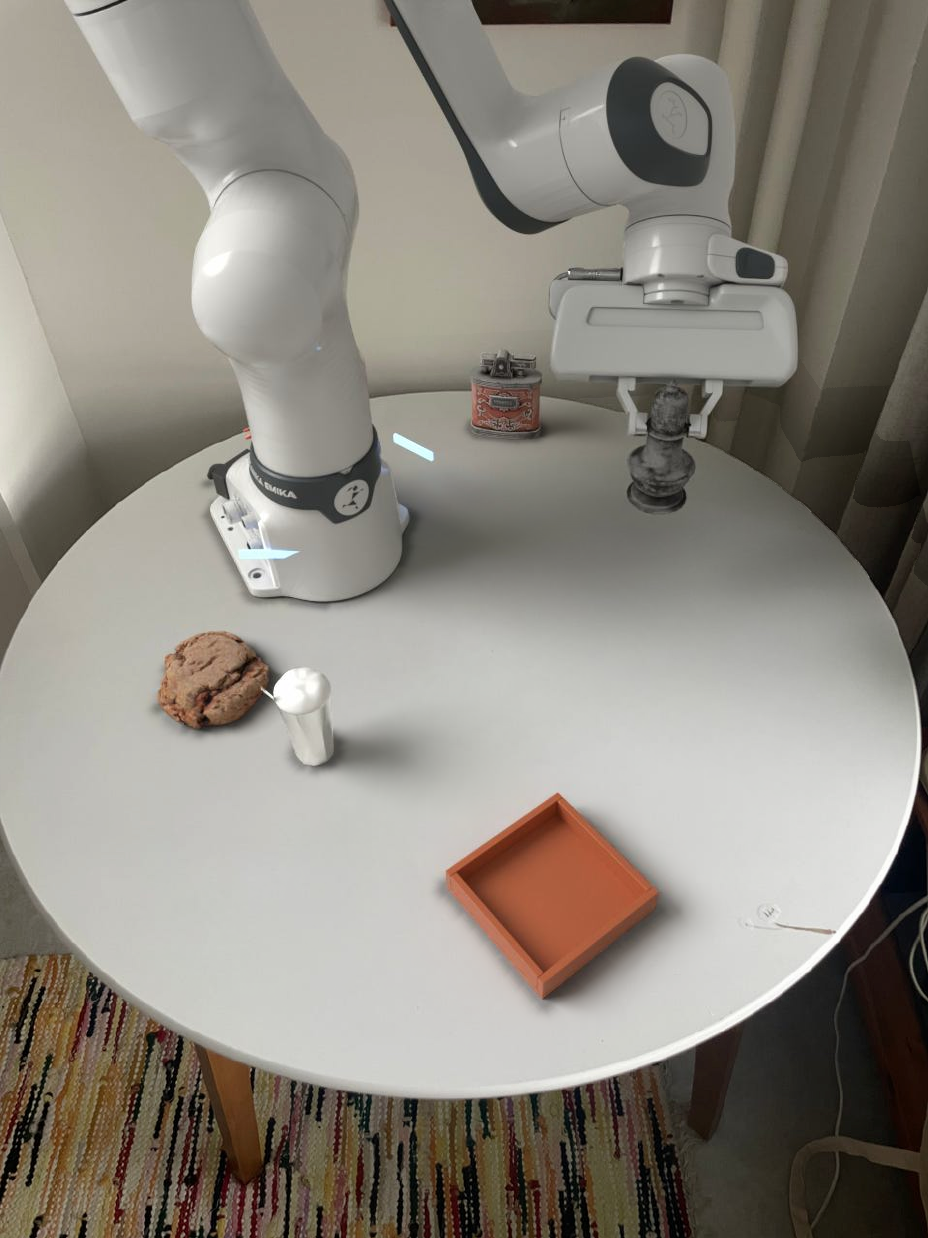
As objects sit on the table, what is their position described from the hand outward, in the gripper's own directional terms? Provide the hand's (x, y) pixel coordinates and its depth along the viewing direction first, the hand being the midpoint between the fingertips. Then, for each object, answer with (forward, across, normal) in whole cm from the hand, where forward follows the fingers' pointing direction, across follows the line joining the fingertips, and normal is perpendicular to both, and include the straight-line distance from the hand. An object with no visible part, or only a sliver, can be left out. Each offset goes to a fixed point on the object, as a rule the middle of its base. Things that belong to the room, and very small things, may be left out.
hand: (666, 436), depth 86 cm
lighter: (-5, -15, +32) cm, 36 cm away
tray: (+37, -8, -10) cm, 39 cm away
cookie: (+23, -39, +4) cm, 46 cm away
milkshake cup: (+28, -29, -1) cm, 40 cm away
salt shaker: (+4, 0, +6) cm, 7 cm away
